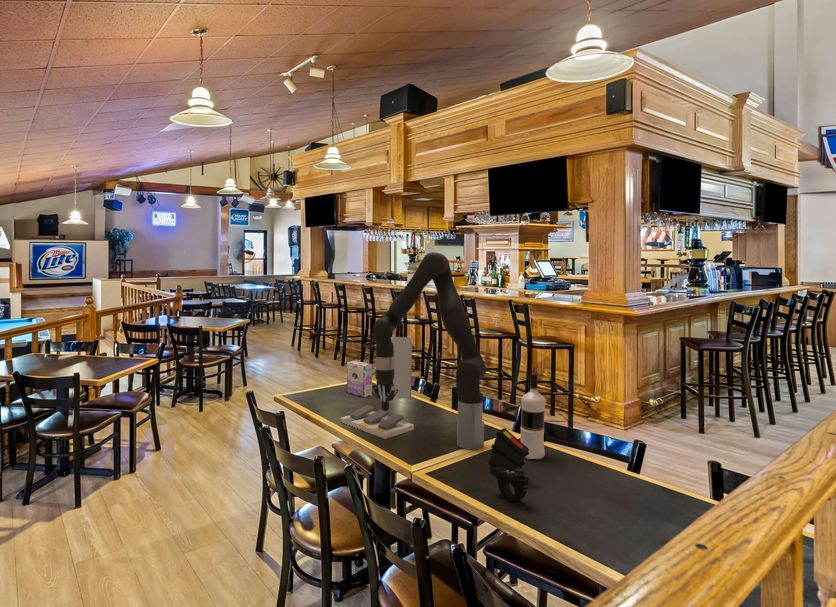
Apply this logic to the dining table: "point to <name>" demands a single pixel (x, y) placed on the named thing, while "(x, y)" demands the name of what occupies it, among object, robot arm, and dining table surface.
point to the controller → (511, 482)
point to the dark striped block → (507, 451)
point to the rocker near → (390, 421)
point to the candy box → (359, 378)
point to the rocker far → (362, 412)
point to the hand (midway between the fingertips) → (385, 410)
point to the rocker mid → (376, 416)
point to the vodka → (533, 420)
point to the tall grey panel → (402, 365)
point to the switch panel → (374, 429)
